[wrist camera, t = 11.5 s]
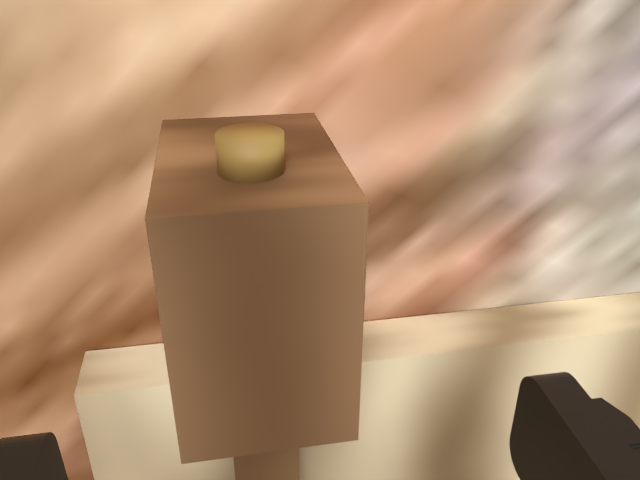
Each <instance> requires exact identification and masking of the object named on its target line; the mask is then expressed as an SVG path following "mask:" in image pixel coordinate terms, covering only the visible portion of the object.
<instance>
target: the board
mask: <svg viewBox="0 0 640 480" xmlns="http://www.w3.org/2000/svg"><path fill="white" fill-rule="evenodd" d="M559 372H568V373H570V374H571V375H572V376H573V377H574V378H575V379H576V380H577V381H578V383H579V384H580V385H581V386H582V388H583V389H584V390H585V391H586V393H587V394H588V395H589V396H590V398H591V399H594V398H603V399H604V400H606V401H607V402H608V403H610V404H611V405H613V406H614V407H616V408H617V409H619V410H620V411H622V412H623V413H625V414H626V415H627V416H629V417H630V418H631V419H632V420H633V421H634V423H635V424H636V425H637V426H638V427H639V428H640V292H639V293H630V294H621V295H611V296H602V297H592V298H583V299H574V300H564V301H555V302H545V303H536V304H527V305H517V306H508V307H498V308H489V309H480V310H470V311H461V312H451V313H442V314H433V315H423V316H414V317H404V318H395V319H386V320H376V321H367V322H364V324H363V346H362V368H361V390H360V413H359V435H358V440H355V441H348V442H341V443H333V444H326V445H319V446H311V447H304V448H299V474H300V480H520V478H519V477H518V475H517V473H516V470H515V468H514V465H513V462H512V458H511V454H510V444H509V442H510V433H511V428H512V423H513V418H514V413H515V408H516V402H517V397H518V392H519V387H520V383H521V381H522V379H523V378H524V377H526V376H534V375H542V374H550V373H559ZM74 399H75V403H76V407H77V411H78V415H79V419H80V423H81V427H82V431H83V435H84V439H85V443H86V447H87V451H88V455H89V459H90V463H91V467H92V471H93V475H94V479H95V480H235V470H234V459H233V457H231V458H223V459H216V460H209V461H201V462H194V463H187V464H181V459H180V452H179V445H178V438H177V432H176V425H175V418H174V411H173V404H172V398H171V391H170V384H169V377H168V371H167V364H166V357H165V350H164V344H163V343H160V344H151V345H141V346H132V347H123V348H113V349H104V350H94V351H86V352H85V355H84V359H83V363H82V367H81V371H80V375H79V378H78V382H77V386H76V390H75V394H74Z"/></svg>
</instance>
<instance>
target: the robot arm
mask: <svg viewBox="0 0 640 480" xmlns="http://www.w3.org/2000/svg"><path fill="white" fill-rule="evenodd" d="M509 444H510V454H511V458H512V462H513V465H514V468H515V470H516V473H517V475H518V477H519V478H520V480H640V428H639V427H638V426H637V425H636V424H635V423H634V421H633V420H632V419H631V418H630V417H629V416H627V415H626V414H625V413H623V412H622V411H620V410H619V409H617V408H616V407H614V406H613V405H611V404H610V403H608V402H607V401H606V400H604V399H603V398H594V399H591V398H590V396H589V395H588V394H587V393H586V391H585V390H584V389H583V388H582V386H581V385H580V384H579V383H578V381H577V380H576V379H575V378H574V377H573V376H572V375H571V374H570V373H568V372H559V373H550V374H542V375H534V376H526V377H524V378H523V379H522V381H521V383H520V387H519V392H518V397H517V402H516V408H515V413H514V418H513V423H512V428H511V433H510V442H509ZM0 480H68V477H67V474H66V470H65V467H64V463H63V460H62V457H61V453H60V450H59V446H58V443H57V440H56V437H55V435H54V434H53V433H51V432H48V433H40V434H32V435H24V436H15V437H7V438H2V439H0Z"/></svg>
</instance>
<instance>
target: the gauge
mask: <svg viewBox="0 0 640 480" xmlns="http://www.w3.org/2000/svg"><path fill="white" fill-rule="evenodd" d="M368 213H369V202H368V200H367V198H366V197H365V195H364V194H363V192H362V190H361V189H360V187H359V185H358V184H357V182H356V181H355V179H354V177H353V176H352V174H351V172H350V171H349V169H348V168H347V166H346V164H345V163H344V161H343V159H342V158H341V156H340V154H339V153H338V151H337V150H336V148H335V146H334V145H333V143H332V141H331V140H330V138H329V137H328V135H327V133H326V132H325V130H324V128H323V127H322V125H321V124H320V122H319V120H318V119H317V117H316V115H315V114H314V113H303V114H282V115H261V116H240V117H219V118H198V119H177V120H163V121H162V127H161V132H160V138H159V143H158V149H157V155H156V160H155V166H154V171H153V177H152V183H151V188H150V194H149V199H148V205H147V211H146V216H145V222H146V229H147V235H148V242H149V249H150V256H151V262H152V269H153V276H154V283H155V289H156V296H157V303H158V310H159V317H160V323H161V330H162V337H163V344H164V350H165V357H166V364H167V371H168V377H169V384H170V391H171V398H172V404H173V411H174V418H175V425H176V432H177V438H178V445H179V452H180V459H181V464H187V463H194V462H201V461H209V460H216V459H223V458H231V457H233V459H234V470H235V480H300V474H299V448H304V447H311V446H319V445H326V444H333V443H341V442H348V441H355V440H358V435H359V413H360V390H361V368H362V346H363V324H364V302H365V279H366V257H367V235H368Z"/></svg>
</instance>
